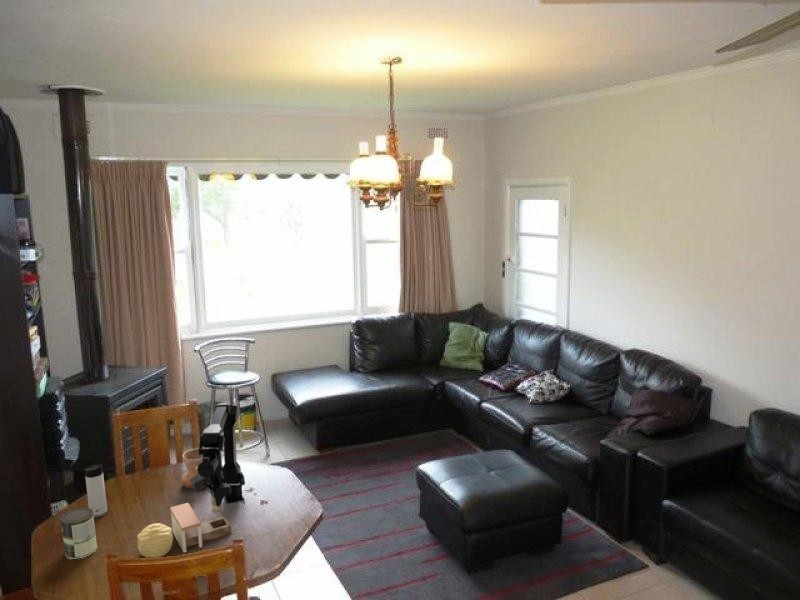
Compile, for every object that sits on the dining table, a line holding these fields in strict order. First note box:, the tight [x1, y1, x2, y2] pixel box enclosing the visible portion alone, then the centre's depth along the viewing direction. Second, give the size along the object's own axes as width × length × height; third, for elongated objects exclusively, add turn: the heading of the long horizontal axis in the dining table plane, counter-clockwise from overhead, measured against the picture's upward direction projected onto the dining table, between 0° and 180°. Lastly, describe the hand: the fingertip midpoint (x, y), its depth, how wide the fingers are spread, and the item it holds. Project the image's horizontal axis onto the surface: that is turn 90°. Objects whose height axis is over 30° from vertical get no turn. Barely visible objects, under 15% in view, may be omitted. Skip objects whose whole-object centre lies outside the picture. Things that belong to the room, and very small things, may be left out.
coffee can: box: [60, 507, 98, 560], centre depth 224 cm, size 10×10×14 cm
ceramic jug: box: [181, 447, 208, 490], centre depth 273 cm, size 18×14×14 cm
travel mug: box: [84, 463, 108, 518], centre depth 249 cm, size 6×7×20 cm
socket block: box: [185, 515, 233, 548], centre depth 234 cm, size 16×8×3 cm, turn 122°
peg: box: [210, 494, 223, 514], centre depth 235 cm, size 4×4×8 cm
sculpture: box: [136, 522, 174, 559], centre depth 222 cm, size 11×12×11 cm
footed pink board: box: [169, 502, 203, 553], centre depth 231 cm, size 6×17×10 cm, turn 32°
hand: (216, 504), depth 235 cm, fingers closed on peg, 4 cm apart
